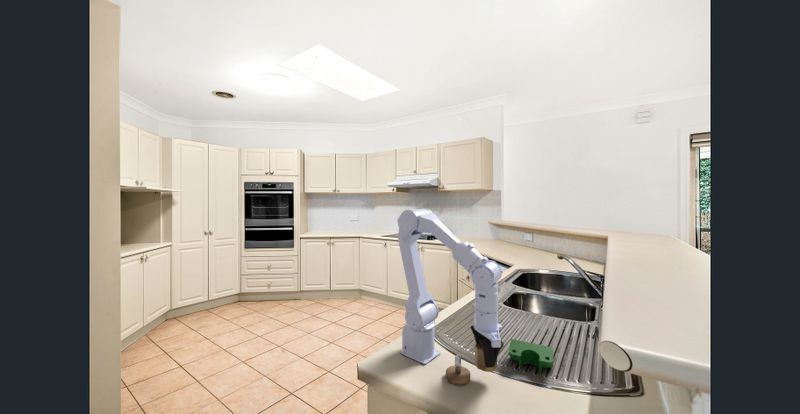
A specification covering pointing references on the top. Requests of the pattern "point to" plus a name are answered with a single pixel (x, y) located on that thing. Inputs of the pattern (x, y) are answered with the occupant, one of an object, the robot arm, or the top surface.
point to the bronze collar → (482, 359)
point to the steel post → (458, 364)
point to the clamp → (531, 354)
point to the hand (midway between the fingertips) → (485, 360)
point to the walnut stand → (458, 376)
